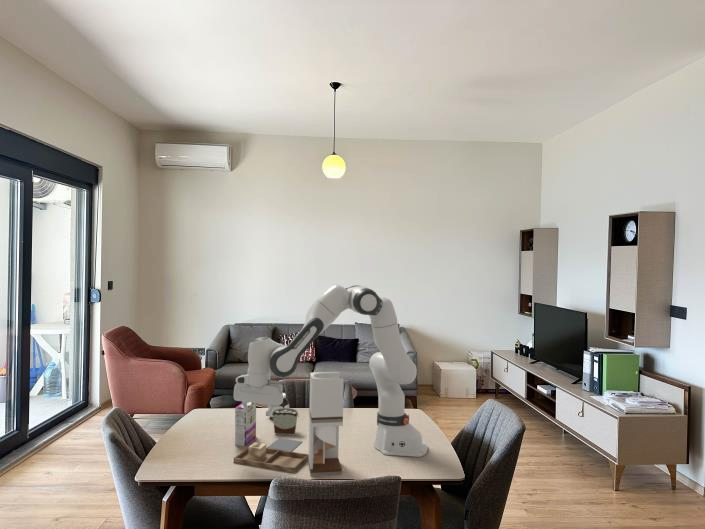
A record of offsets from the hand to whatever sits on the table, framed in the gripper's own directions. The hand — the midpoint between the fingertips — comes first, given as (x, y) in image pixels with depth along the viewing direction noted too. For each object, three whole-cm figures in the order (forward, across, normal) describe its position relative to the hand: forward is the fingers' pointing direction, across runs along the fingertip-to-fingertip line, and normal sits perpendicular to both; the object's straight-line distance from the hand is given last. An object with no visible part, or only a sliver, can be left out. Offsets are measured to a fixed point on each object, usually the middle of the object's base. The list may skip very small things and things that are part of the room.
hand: (257, 414), depth 176 cm
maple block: (+17, 0, 0) cm, 17 cm away
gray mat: (+18, -5, -16) cm, 24 cm away
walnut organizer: (+18, -6, 0) cm, 19 cm away
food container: (+18, +2, -31) cm, 36 cm away
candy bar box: (+18, +13, -14) cm, 27 cm away
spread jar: (+18, +15, -49) cm, 55 cm away
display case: (+18, -28, -2) cm, 33 cm away
